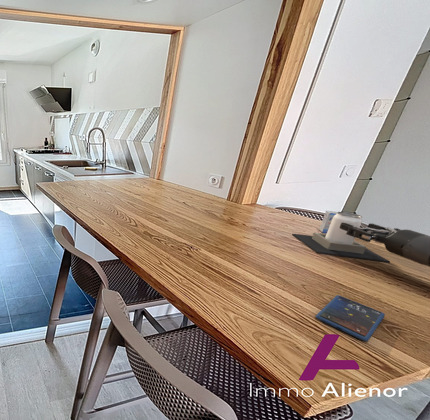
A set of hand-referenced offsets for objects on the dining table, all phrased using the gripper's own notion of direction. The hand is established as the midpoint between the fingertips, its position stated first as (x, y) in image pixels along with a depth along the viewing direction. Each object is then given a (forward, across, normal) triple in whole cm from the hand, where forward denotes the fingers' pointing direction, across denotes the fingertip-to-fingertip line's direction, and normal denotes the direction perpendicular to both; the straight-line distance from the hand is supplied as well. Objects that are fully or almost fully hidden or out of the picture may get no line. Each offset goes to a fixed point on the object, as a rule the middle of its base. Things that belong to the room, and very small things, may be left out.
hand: (355, 225), depth 81 cm
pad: (+3, 0, +10) cm, 10 cm away
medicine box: (+16, -12, +10) cm, 22 cm away
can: (+3, 0, +9) cm, 10 cm away
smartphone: (-34, +32, +10) cm, 48 cm away
